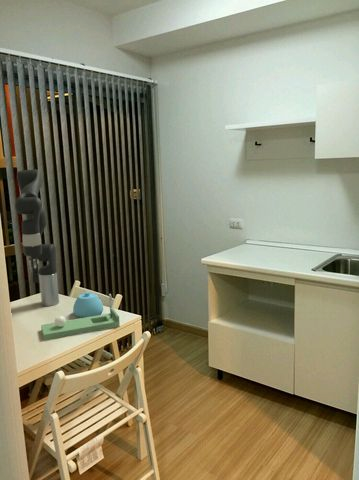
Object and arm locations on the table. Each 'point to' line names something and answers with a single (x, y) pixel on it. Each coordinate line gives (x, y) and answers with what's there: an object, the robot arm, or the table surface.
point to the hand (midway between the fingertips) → (35, 282)
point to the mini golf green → (81, 325)
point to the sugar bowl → (87, 305)
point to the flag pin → (110, 305)
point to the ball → (60, 321)
